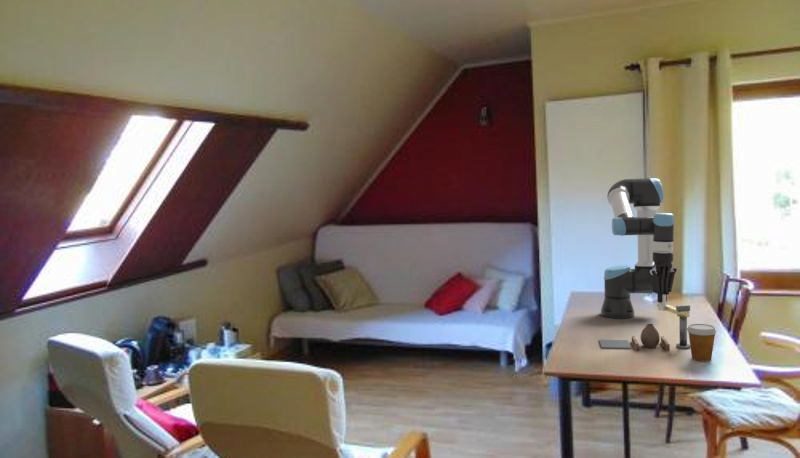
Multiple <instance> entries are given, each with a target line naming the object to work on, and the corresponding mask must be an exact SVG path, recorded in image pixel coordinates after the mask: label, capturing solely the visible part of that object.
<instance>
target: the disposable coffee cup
mask: <svg viewBox="0 0 800 458" xmlns="http://www.w3.org/2000/svg"><path fill="white" fill-rule="evenodd" d="M687 333H688V339H689V345H690V352H691V353H690V354H691V359H692V360H694V361H697V362H702V361H703V362H706V361H707V362H710V360H711V361H712V357H713V351H714V350H713V349H714V344H715V335H716V333H717V330H716V327H715V326H714V325H712V324H709V323H708V324H707V323H691V324H690V323H689V324H688V325H687Z"/></svg>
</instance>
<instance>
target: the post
mask: <svg viewBox="0 0 800 458" xmlns="http://www.w3.org/2000/svg"><path fill="white" fill-rule="evenodd" d="M687 328H688V317H679V343H676V344H675V348H677V349H681V350H689V349H691V347H690V343H689V344H688V330H687Z"/></svg>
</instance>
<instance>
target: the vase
mask: <svg viewBox="0 0 800 458" xmlns="http://www.w3.org/2000/svg"><path fill="white" fill-rule="evenodd" d="M640 341H641V343H642V345H643V346H644V347H645V348H648V349H650V348H651V349H654V348H656V347H658V345H659V343H660V342H661V336H660V333H659V331H658V330H657V329H656V327H655V325H654V324H652V323H646V326H645V327H643V329H642V330H641V333H640Z"/></svg>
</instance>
